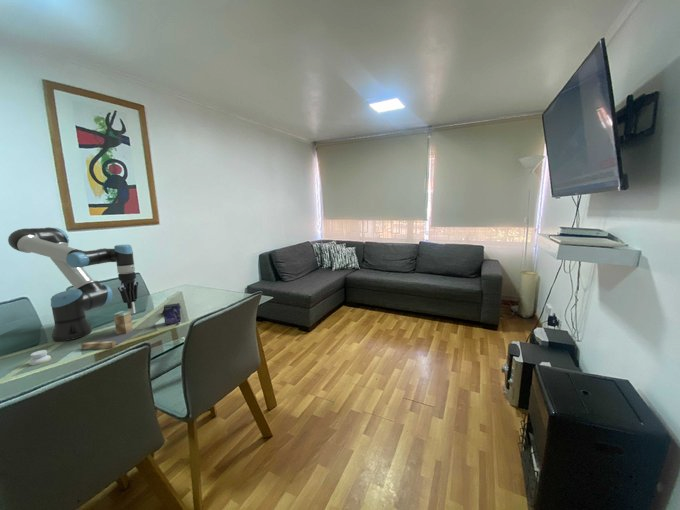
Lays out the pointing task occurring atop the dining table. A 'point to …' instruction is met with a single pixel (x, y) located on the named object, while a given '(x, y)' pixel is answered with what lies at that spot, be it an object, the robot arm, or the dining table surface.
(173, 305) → the box
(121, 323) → the block
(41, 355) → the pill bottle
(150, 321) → the dining table surface
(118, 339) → the mat
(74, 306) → the robot arm
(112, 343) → the strip
